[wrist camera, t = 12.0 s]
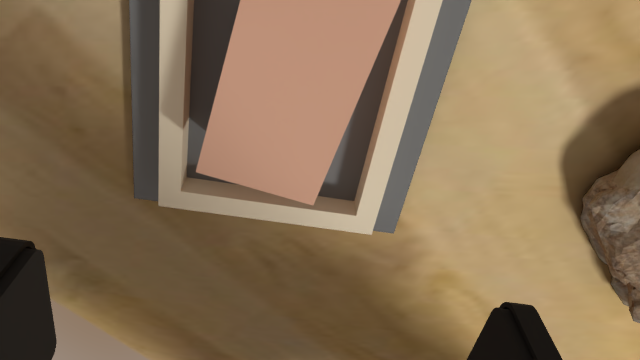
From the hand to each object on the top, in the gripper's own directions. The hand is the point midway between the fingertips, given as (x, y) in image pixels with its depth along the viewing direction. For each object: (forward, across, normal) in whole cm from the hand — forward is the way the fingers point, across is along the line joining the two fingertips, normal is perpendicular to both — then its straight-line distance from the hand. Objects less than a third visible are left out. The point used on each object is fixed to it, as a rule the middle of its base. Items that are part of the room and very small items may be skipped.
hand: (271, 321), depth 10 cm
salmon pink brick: (+17, 0, 0) cm, 17 cm away
